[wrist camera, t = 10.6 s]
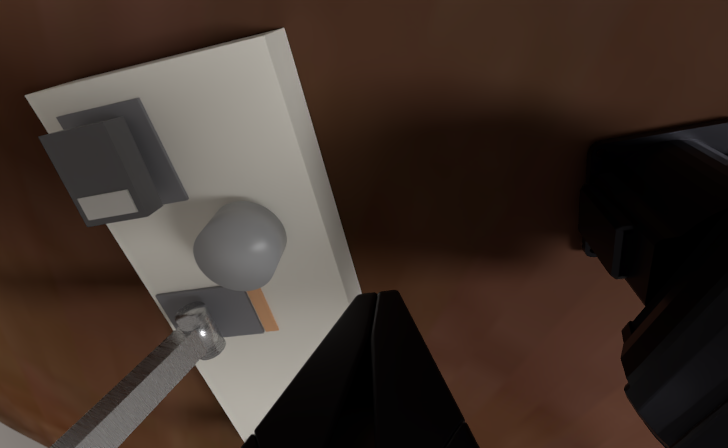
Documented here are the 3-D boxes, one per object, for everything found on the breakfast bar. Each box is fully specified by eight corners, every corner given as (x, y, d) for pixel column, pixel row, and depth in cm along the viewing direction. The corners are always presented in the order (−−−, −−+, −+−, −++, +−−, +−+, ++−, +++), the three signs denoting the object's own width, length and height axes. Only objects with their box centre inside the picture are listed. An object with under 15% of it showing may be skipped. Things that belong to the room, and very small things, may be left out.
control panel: (284, 27, 18) (262, 36, 15) (401, 430, 32) (401, 472, 30) (74, 80, 20) (20, 96, 17) (274, 437, 34) (263, 476, 32)
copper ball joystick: (218, 305, 21) (-41, 558, 12) (238, 342, 22) (17, 593, 14) (185, 298, 22) (-71, 524, 14) (206, 333, 24) (-15, 559, 15)
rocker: (123, 116, 16) (101, 122, 15) (163, 205, 18) (146, 217, 17) (61, 130, 17) (36, 137, 16) (106, 215, 18) (86, 227, 17)
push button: (272, 195, 18) (258, 217, 16) (296, 259, 20) (286, 286, 18) (199, 207, 18) (178, 230, 17) (229, 269, 20) (213, 295, 19)
